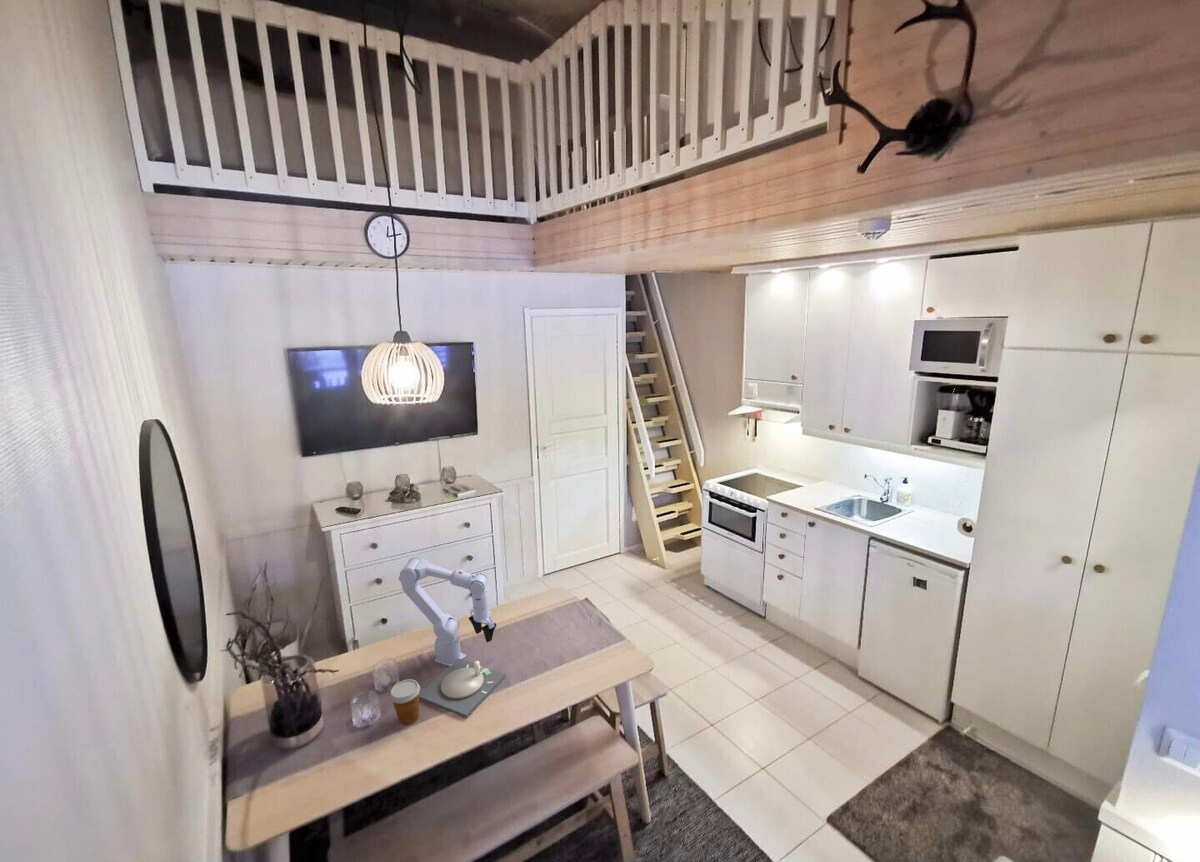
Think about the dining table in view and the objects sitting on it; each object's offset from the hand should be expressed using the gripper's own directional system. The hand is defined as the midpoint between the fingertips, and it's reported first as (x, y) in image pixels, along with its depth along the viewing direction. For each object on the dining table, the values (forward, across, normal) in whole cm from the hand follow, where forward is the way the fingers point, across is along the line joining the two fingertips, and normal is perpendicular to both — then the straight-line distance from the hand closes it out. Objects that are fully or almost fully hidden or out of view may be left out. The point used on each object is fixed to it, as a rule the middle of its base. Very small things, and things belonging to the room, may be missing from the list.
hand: (483, 636), depth 207 cm
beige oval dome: (+8, -9, +14) cm, 18 cm away
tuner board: (+9, -9, +15) cm, 20 cm away
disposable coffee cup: (+10, -8, +35) cm, 37 cm away
